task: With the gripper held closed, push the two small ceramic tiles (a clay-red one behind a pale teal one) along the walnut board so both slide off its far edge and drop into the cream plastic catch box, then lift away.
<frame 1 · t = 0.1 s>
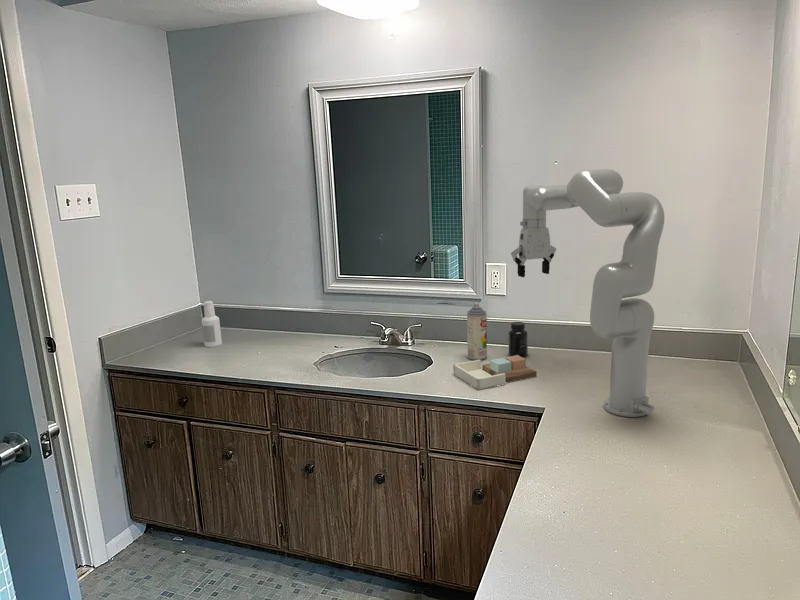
hand: (533, 274, 206), 31 cm above the worktop, tool pointing down, fingers open, 9 cm apart
aerosol can: (477, 358, 221), on the worktop
walnut board: (508, 373, 204), on the worktop
catch box: (478, 379, 200), on the worktop
supplement bottle: (518, 355, 221), on the worktop
teal tile: (500, 369, 202), point 2 cm above the worktop, touching walnut board
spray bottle: (213, 345, 249), on the worktop
clay tile: (515, 366, 204), point 2 cm above the worktop, touching walnut board
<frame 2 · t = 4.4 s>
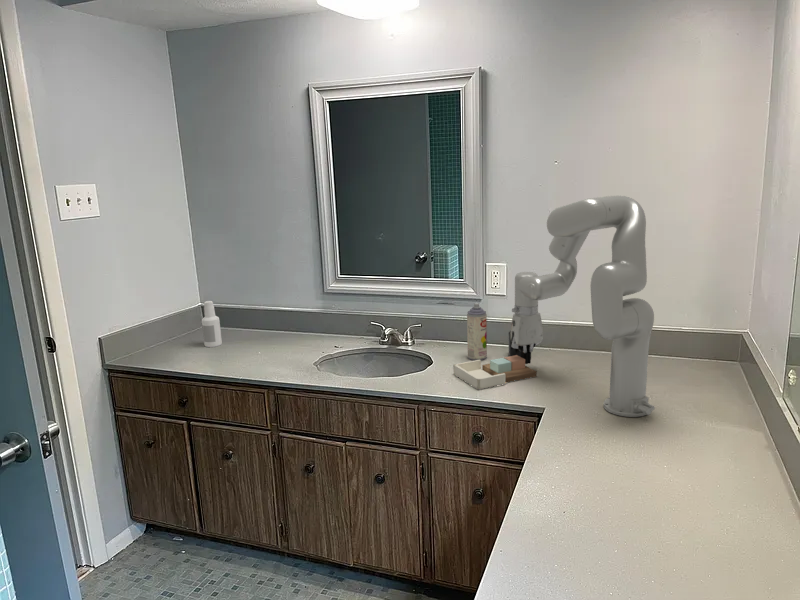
hand: (525, 362, 206), 3 cm above the worktop, tool pointing down, fingers closed
clay tile: (514, 366, 204), point 2 cm above the worktop, touching gripper, walnut board
everything else where it was.
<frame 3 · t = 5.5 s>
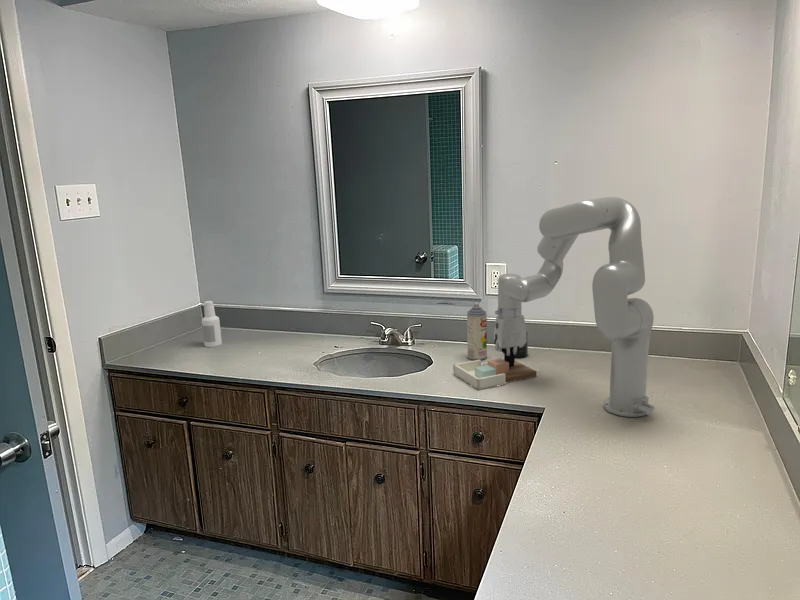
hand: (509, 365, 203), 3 cm above the worktop, tool pointing down, fingers closed
teal tile: (485, 377, 200), resting on catch box, touching clay tile
clay tile: (498, 370, 202), point 2 cm above the worktop, touching gripper, teal tile
everything else where it was.
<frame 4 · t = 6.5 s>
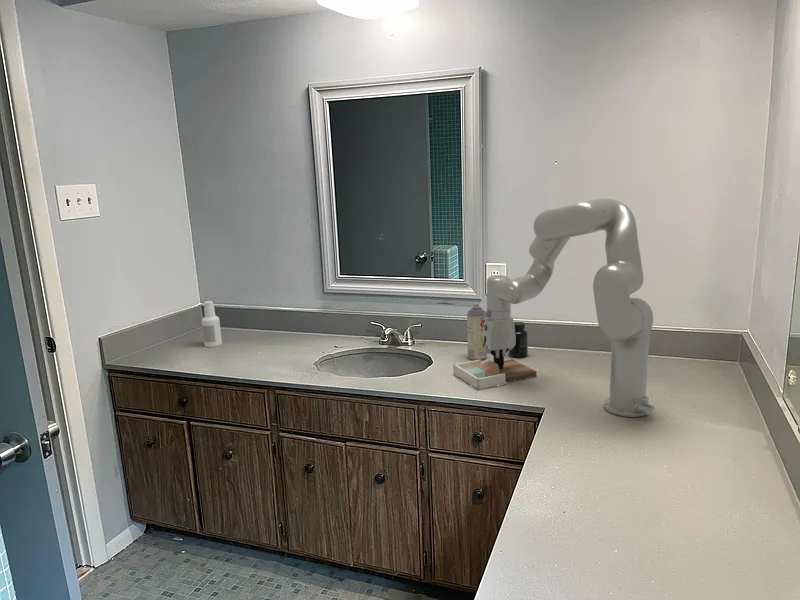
hand: (498, 367, 202), 3 cm above the worktop, tool pointing down, fingers closed
teal tile: (474, 379, 199), resting on catch box, touching clay tile
clay tile: (489, 373, 201), point 1 cm above the worktop, tilted 16°, touching gripper, teal tile
everything else where it was.
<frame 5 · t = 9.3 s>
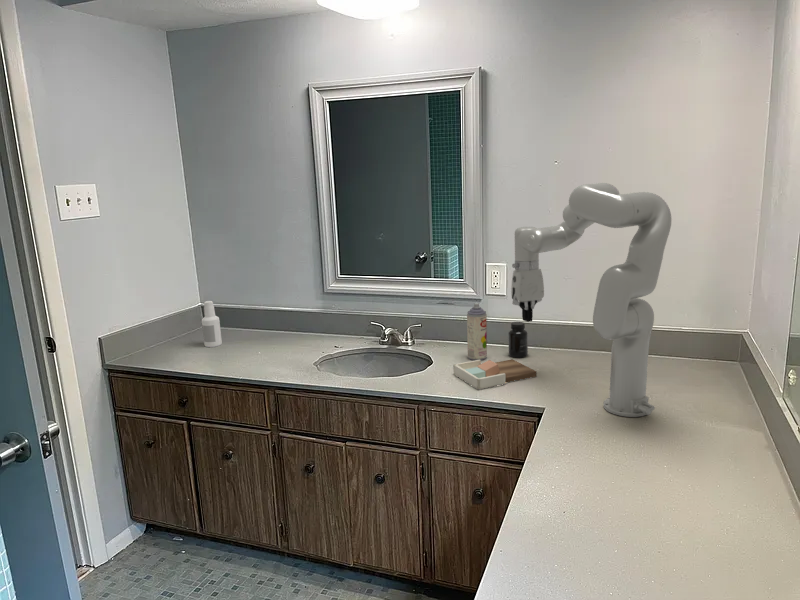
hand: (527, 320, 202), 17 cm above the worktop, tool pointing down, fingers closed
clay tile: (489, 373, 201), point 1 cm above the worktop, tilted 16°, touching teal tile, walnut board
everything else where it was.
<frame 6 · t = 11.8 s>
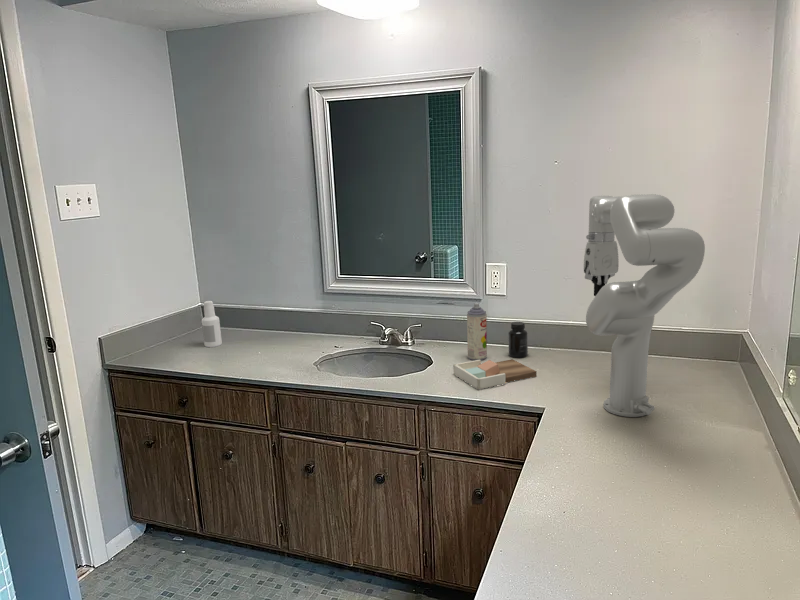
hand: (599, 296, 189), 27 cm above the worktop, tool pointing down, fingers closed
nothing on the worktop moved.
at the end: clay tile inside the target area on the catch box (3.8 cm from its centre), point 1.4 cm above the catch box's base; teal tile inside the target area on the catch box (1.9 cm from its centre), point 0.4 cm above the catch box's base; clay tile point 1.4 cm above the worktop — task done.
